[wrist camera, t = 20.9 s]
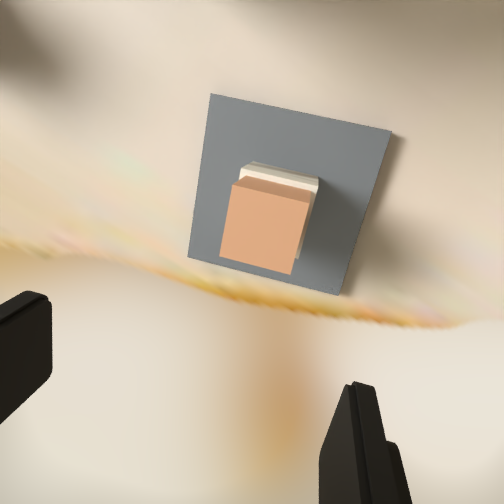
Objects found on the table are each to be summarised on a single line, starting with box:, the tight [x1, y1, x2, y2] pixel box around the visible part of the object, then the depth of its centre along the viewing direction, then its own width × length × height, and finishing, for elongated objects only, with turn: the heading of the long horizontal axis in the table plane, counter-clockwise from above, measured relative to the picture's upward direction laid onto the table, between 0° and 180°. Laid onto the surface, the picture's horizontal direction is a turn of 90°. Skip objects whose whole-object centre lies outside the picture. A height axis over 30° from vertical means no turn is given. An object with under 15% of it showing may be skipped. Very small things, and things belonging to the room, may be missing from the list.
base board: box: [188, 93, 392, 296], centre depth 36 cm, size 17×17×2 cm
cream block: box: [239, 161, 318, 259], centre depth 33 cm, size 6×6×6 cm
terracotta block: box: [219, 175, 311, 275], centre depth 28 cm, size 6×6×5 cm
